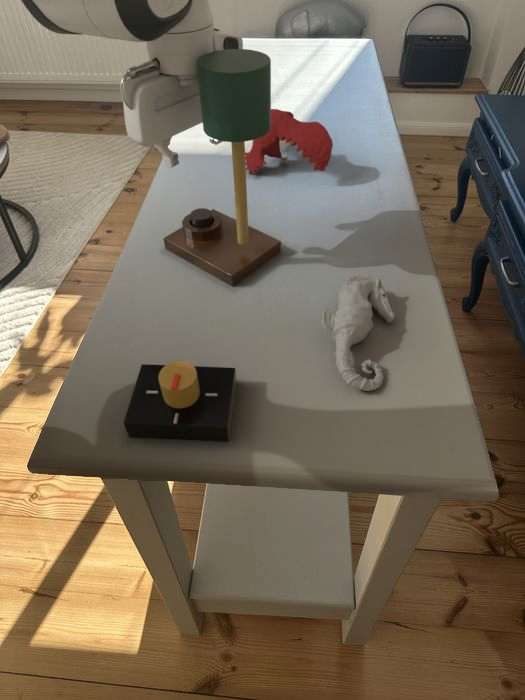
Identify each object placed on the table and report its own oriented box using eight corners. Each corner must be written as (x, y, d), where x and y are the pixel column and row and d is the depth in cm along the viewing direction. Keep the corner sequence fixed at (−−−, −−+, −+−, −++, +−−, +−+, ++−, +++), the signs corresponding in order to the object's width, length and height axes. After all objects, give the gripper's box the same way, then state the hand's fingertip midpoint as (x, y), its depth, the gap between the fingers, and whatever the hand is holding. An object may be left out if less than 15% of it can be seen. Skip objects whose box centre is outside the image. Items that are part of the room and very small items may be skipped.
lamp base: (165, 248, 83) (161, 228, 80) (214, 219, 89) (212, 199, 86) (232, 287, 76) (231, 266, 73) (281, 252, 82) (281, 231, 79)
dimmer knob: (167, 378, 59) (162, 358, 57) (202, 380, 59) (199, 359, 56) (159, 407, 56) (153, 387, 54) (196, 409, 56) (192, 389, 53)
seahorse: (421, 388, 60) (395, 271, 71) (338, 373, 57) (324, 253, 68) (398, 406, 64) (377, 293, 75) (319, 393, 61) (310, 276, 72)
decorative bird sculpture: (312, 210, 99) (351, 142, 95) (289, 194, 91) (331, 119, 87) (226, 163, 113) (257, 102, 110) (199, 146, 106) (232, 80, 102)
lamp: (203, 243, 77) (180, 62, 58) (241, 219, 82) (231, 44, 63) (245, 265, 73) (235, 78, 54) (282, 239, 78) (285, 58, 58)
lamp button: (187, 223, 82) (185, 214, 81) (202, 214, 84) (201, 205, 82) (201, 231, 80) (200, 222, 79) (217, 222, 82) (216, 212, 81)
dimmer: (128, 437, 57) (122, 422, 55) (146, 378, 63) (141, 363, 61) (228, 442, 57) (227, 427, 54) (236, 382, 63) (235, 366, 60)
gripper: (134, 77, 56) (156, 187, 66) (251, 35, 66) (254, 136, 77) (101, 66, 59) (127, 173, 69) (218, 28, 69) (226, 126, 79)
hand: (195, 153), depth 73 cm, fingers open, 8 cm apart
